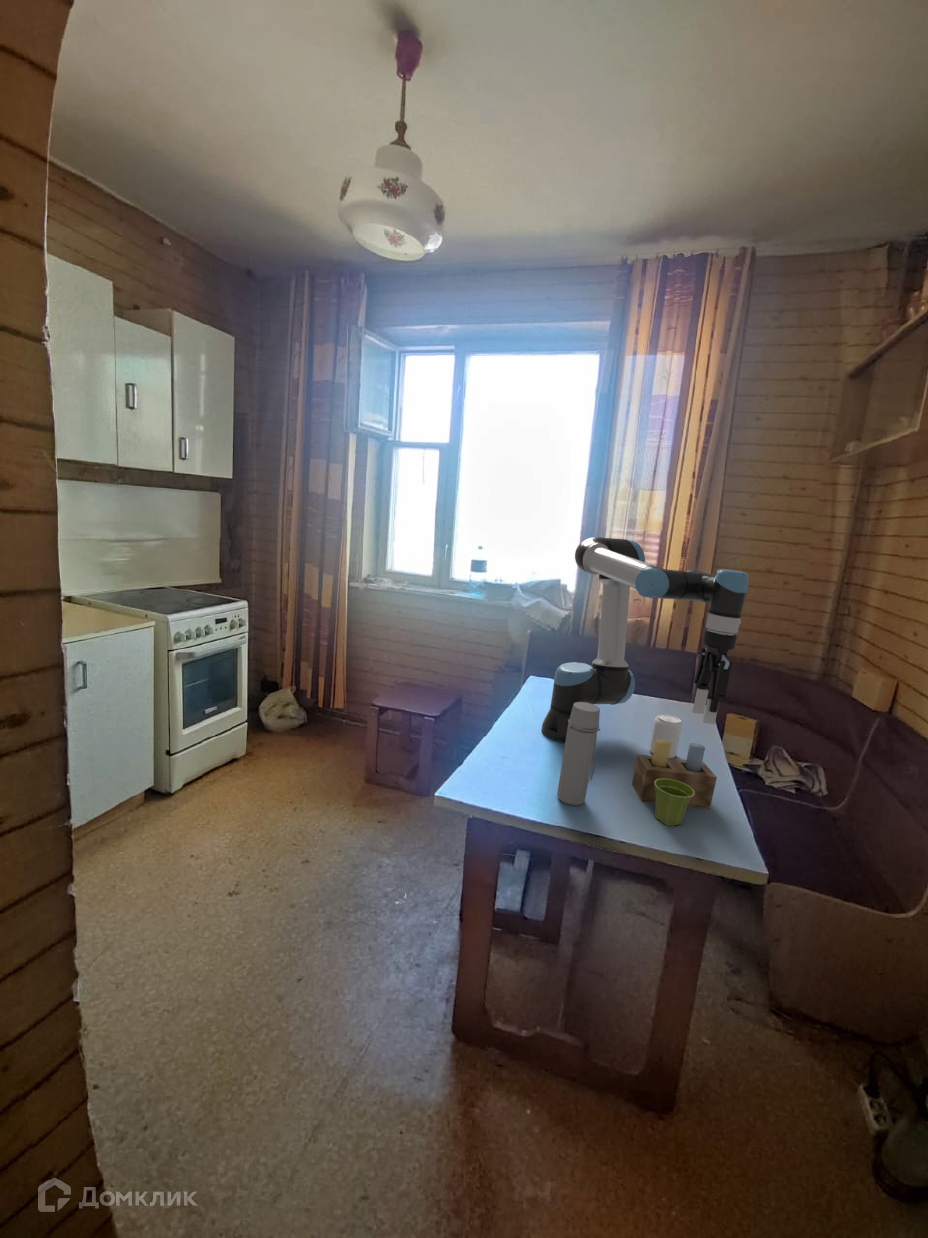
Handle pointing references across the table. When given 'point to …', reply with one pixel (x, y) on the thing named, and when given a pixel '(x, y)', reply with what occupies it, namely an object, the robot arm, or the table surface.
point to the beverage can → (666, 732)
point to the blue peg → (694, 757)
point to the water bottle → (579, 753)
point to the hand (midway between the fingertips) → (703, 717)
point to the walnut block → (674, 770)
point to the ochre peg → (660, 753)
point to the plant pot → (671, 800)
